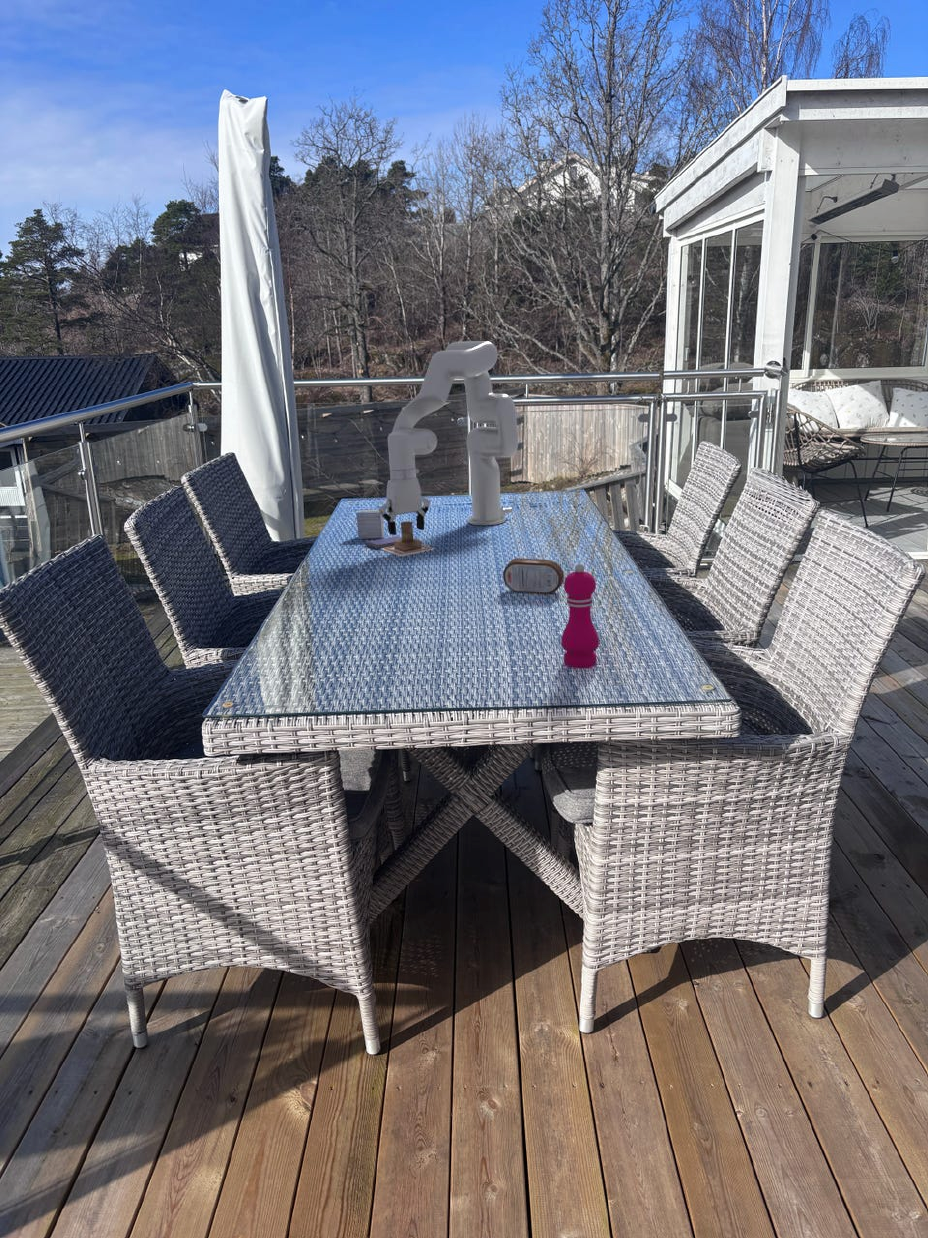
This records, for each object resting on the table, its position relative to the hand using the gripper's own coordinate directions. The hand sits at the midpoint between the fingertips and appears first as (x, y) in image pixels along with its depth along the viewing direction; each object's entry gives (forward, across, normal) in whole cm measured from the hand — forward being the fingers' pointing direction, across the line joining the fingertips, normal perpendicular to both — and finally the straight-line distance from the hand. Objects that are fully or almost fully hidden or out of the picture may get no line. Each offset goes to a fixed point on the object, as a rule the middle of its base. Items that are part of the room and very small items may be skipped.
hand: (406, 531), depth 267 cm
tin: (+6, 0, +61) cm, 61 cm away
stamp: (+5, 0, 0) cm, 5 cm away
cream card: (+6, 0, 0) cm, 6 cm away
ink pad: (+6, +1, -10) cm, 12 cm away
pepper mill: (+6, +23, +105) cm, 108 cm away
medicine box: (+6, 0, -23) cm, 24 cm away
